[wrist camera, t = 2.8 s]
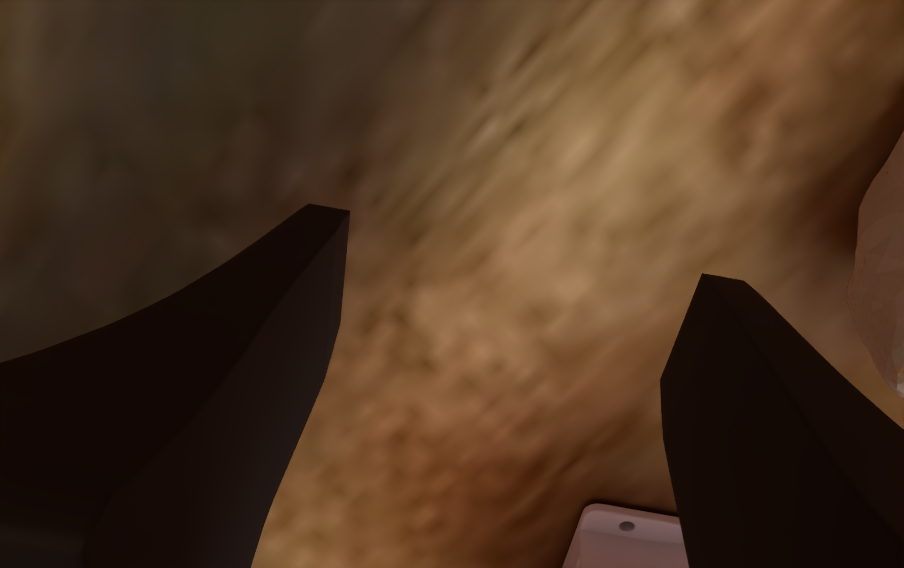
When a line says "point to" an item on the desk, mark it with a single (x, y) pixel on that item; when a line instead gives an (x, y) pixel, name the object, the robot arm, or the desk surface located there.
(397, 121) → the desk surface
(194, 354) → the robot arm
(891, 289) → the ceramic sculpture
